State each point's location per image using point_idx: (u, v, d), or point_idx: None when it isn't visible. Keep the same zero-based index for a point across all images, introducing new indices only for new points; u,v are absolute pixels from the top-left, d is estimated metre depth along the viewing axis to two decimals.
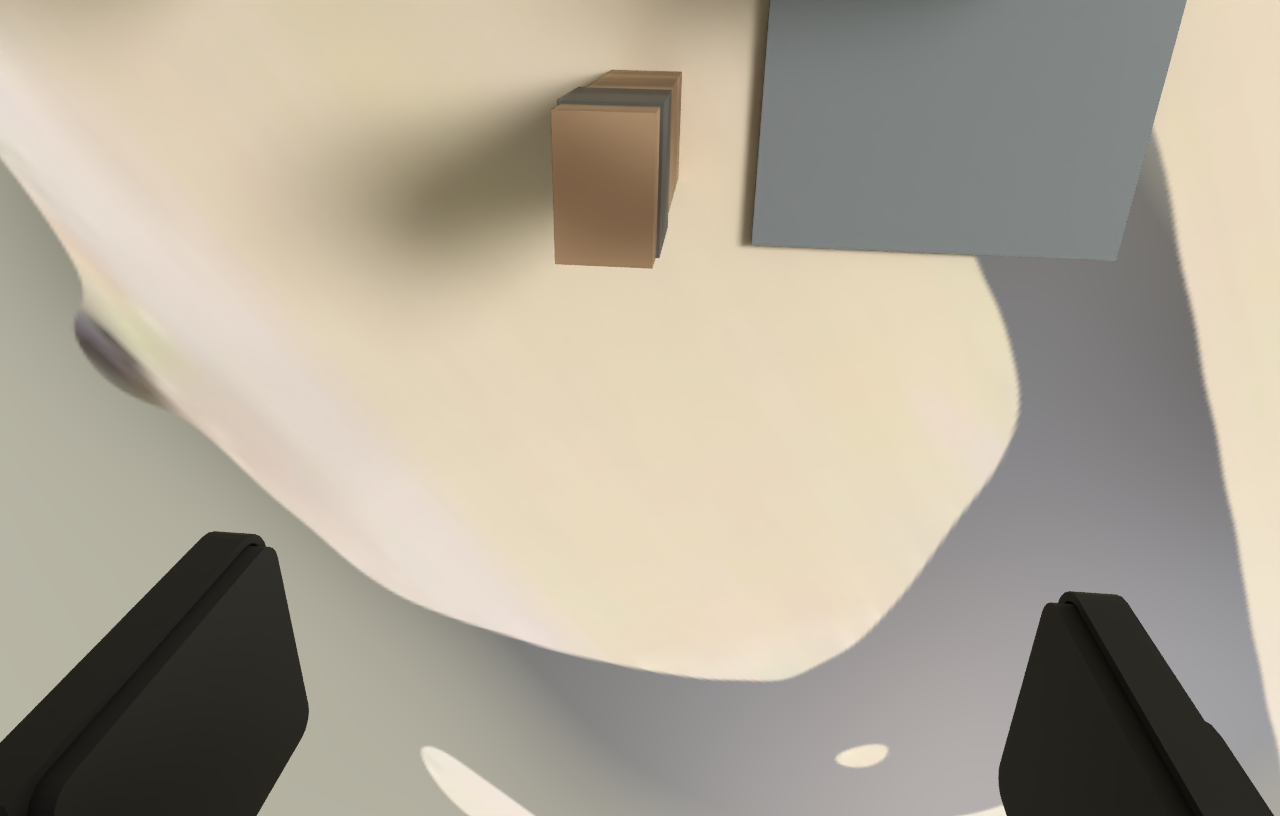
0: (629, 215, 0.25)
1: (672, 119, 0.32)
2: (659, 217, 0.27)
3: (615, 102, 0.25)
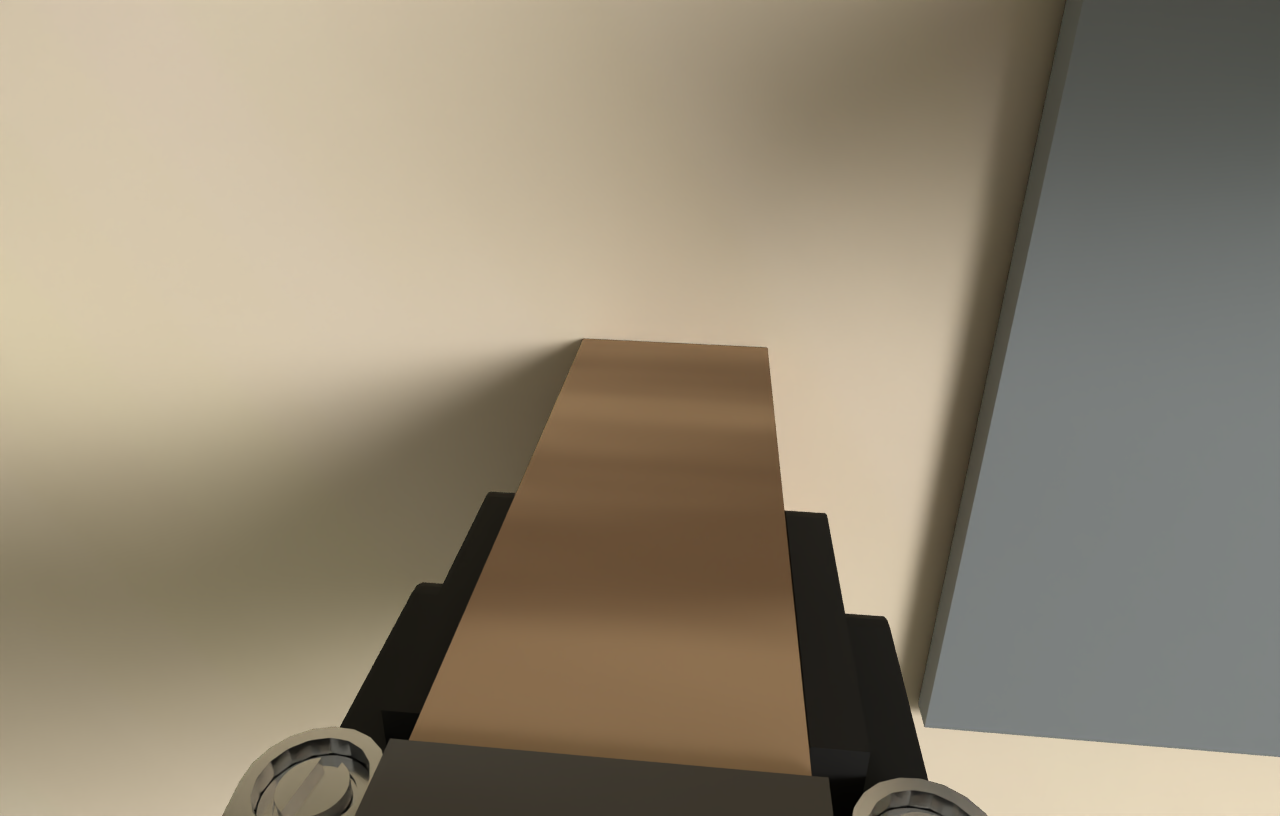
0: None
1: None
2: None
3: None
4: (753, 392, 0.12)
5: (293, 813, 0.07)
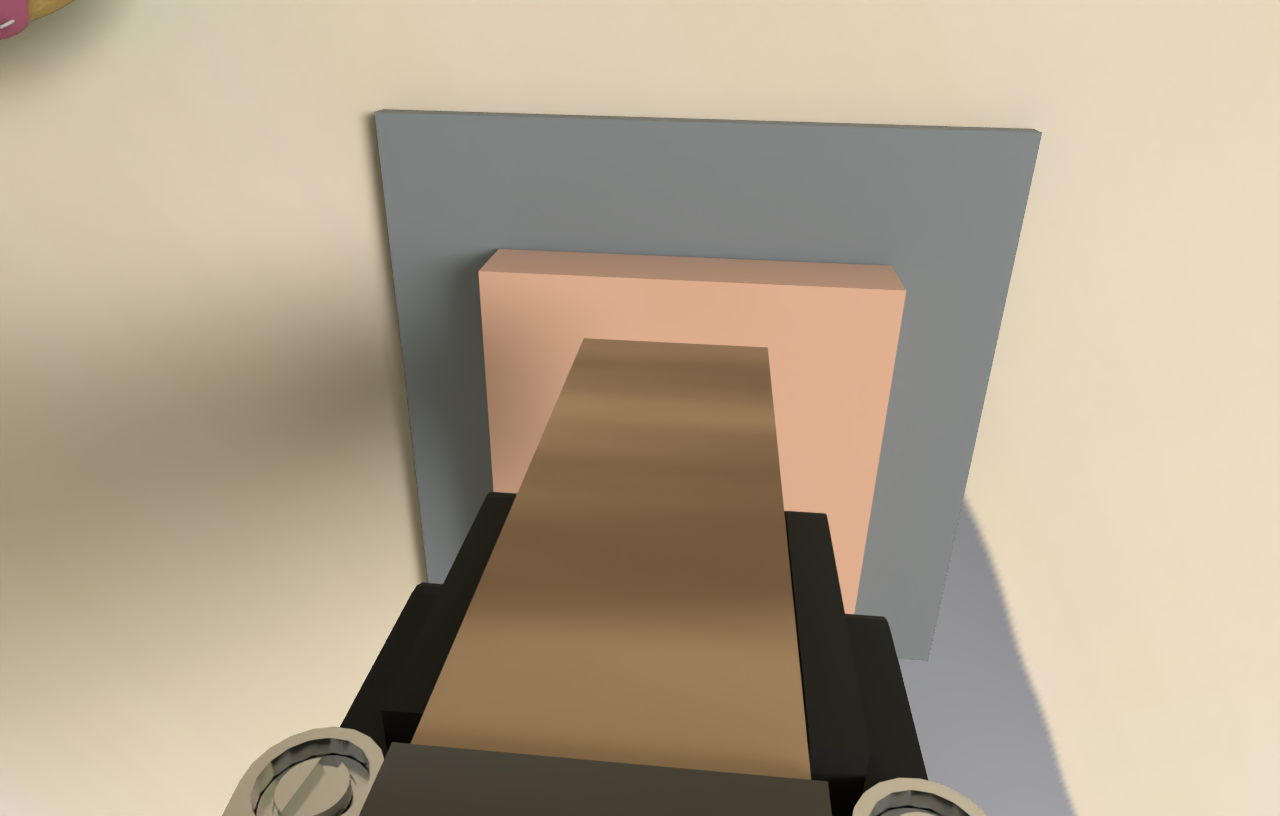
0: None
1: None
2: None
3: None
4: (753, 392, 0.12)
5: (293, 814, 0.07)
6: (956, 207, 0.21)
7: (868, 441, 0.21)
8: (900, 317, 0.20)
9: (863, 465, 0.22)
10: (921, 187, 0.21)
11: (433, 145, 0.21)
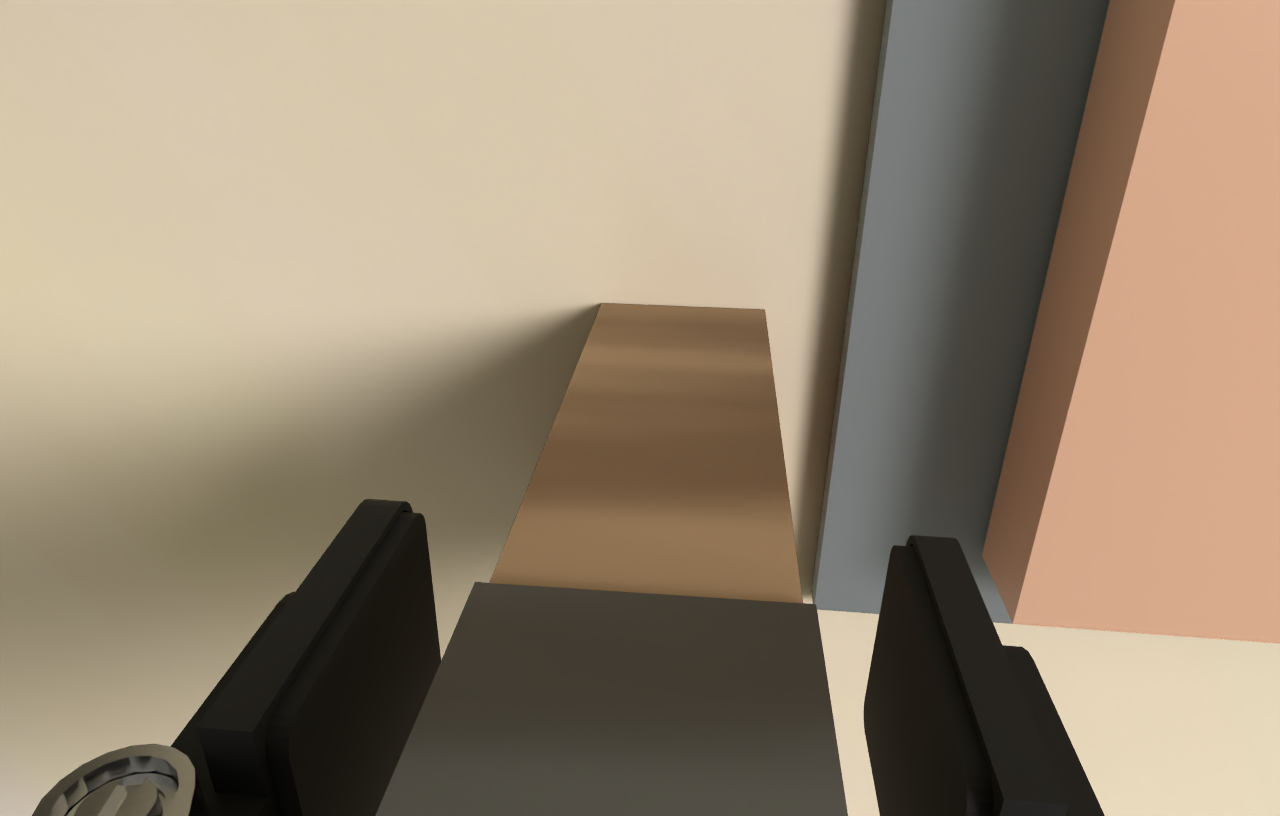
0: None
1: None
2: None
3: None
4: (753, 344, 0.14)
5: None
6: None
7: None
8: None
9: None
10: None
11: None
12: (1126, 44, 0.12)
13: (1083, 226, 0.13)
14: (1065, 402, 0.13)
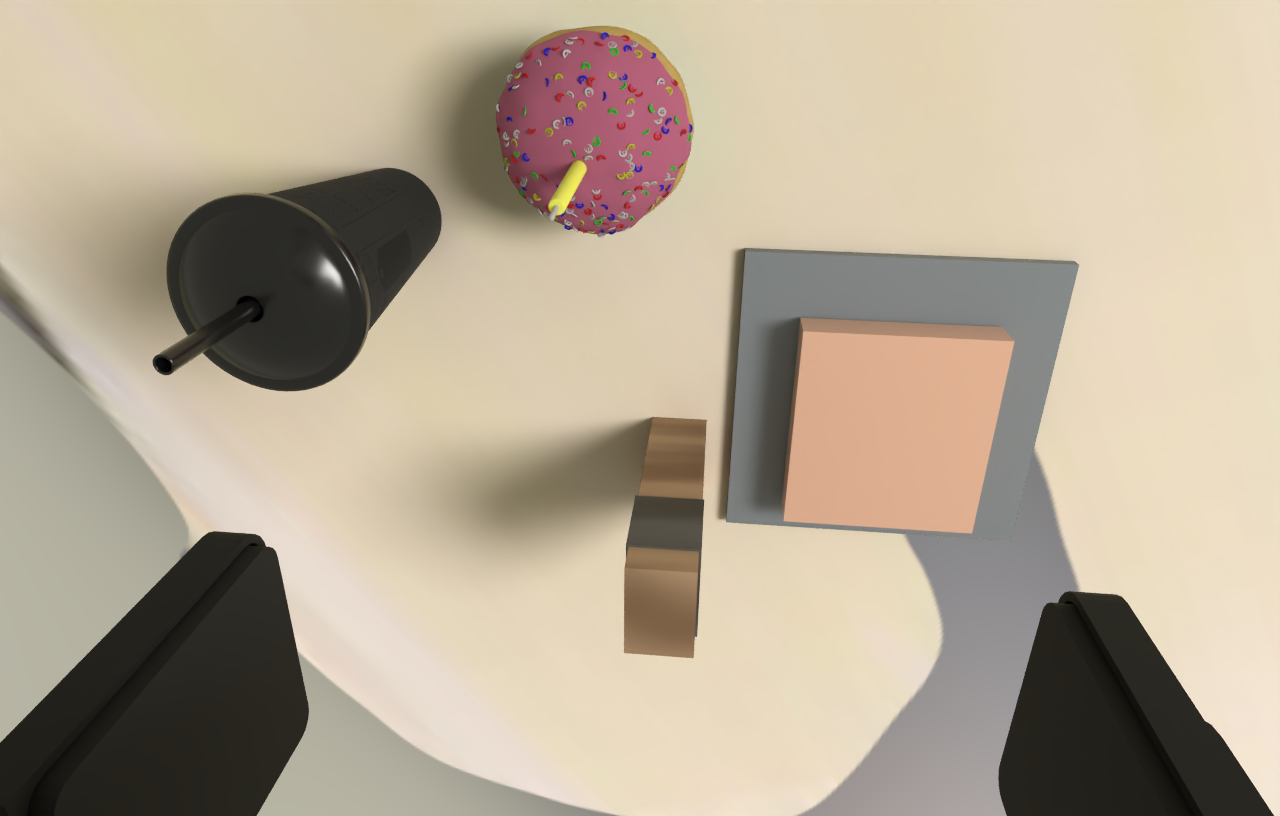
0: (678, 627, 0.36)
1: (702, 493, 0.42)
2: (697, 613, 0.37)
3: (667, 547, 0.36)
4: (700, 434, 0.46)
5: None
6: (1036, 298, 0.42)
7: (991, 414, 0.42)
8: (1010, 353, 0.41)
9: (988, 427, 0.43)
10: (1018, 289, 0.42)
11: (773, 267, 0.42)
12: (798, 359, 0.43)
13: (793, 403, 0.44)
14: (790, 453, 0.45)
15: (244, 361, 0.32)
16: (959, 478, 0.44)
